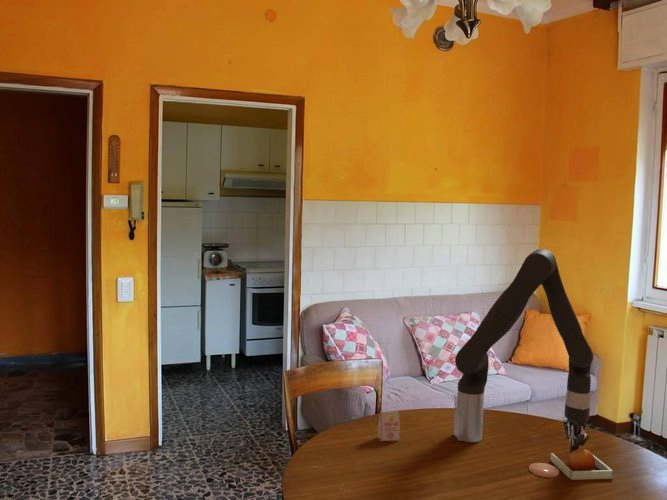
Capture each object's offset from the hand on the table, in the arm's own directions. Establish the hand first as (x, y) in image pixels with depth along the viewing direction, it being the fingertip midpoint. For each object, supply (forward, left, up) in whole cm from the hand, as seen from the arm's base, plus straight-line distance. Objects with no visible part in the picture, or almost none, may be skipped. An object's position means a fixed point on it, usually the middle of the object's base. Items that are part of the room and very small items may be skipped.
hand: (573, 455), depth 201 cm
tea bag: (-57, +22, -3) cm, 61 cm away
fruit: (-1, -6, -3) cm, 7 cm away
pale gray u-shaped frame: (0, -5, -3) cm, 5 cm away
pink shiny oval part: (-13, -5, -3) cm, 14 cm away
